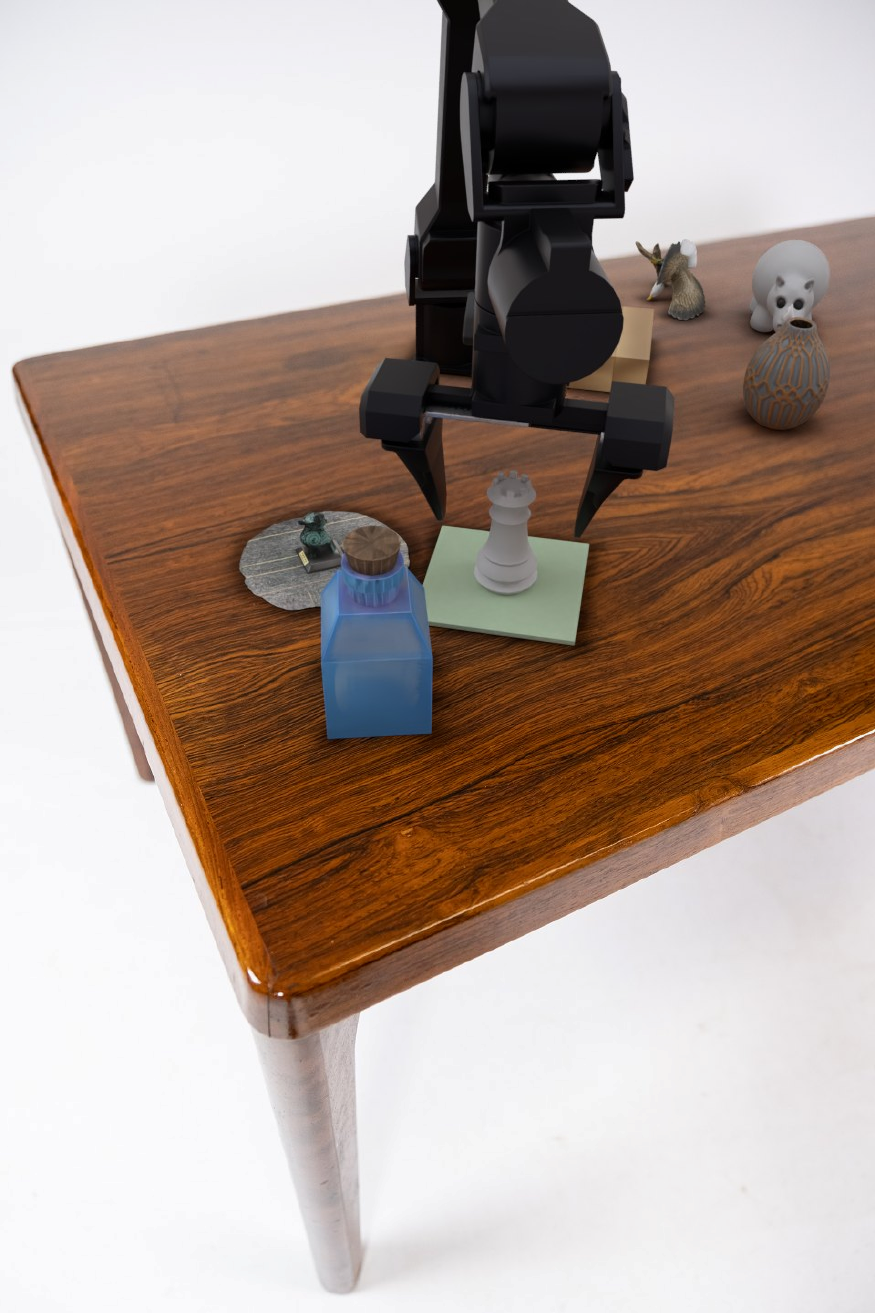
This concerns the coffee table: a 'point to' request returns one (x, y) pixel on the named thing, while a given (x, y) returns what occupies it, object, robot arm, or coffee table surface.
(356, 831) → the coffee table surface
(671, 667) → the coffee table surface
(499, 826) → the coffee table surface
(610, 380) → the socket block
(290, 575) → the sculpture
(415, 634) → the perfume bottle
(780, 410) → the vase
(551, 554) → the mat
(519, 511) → the rook chess piece
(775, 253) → the round bodied animal figurine
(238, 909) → the coffee table surface
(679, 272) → the eagle figurine
